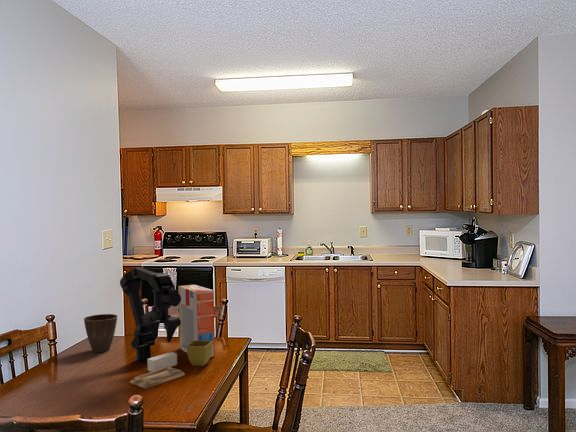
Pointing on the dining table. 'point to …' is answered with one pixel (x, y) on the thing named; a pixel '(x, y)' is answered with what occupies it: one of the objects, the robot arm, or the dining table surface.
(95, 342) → the plant pot
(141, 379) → the beige rectangular tray
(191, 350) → the flower pot
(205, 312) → the pasta box
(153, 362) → the door
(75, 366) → the dining table surface
